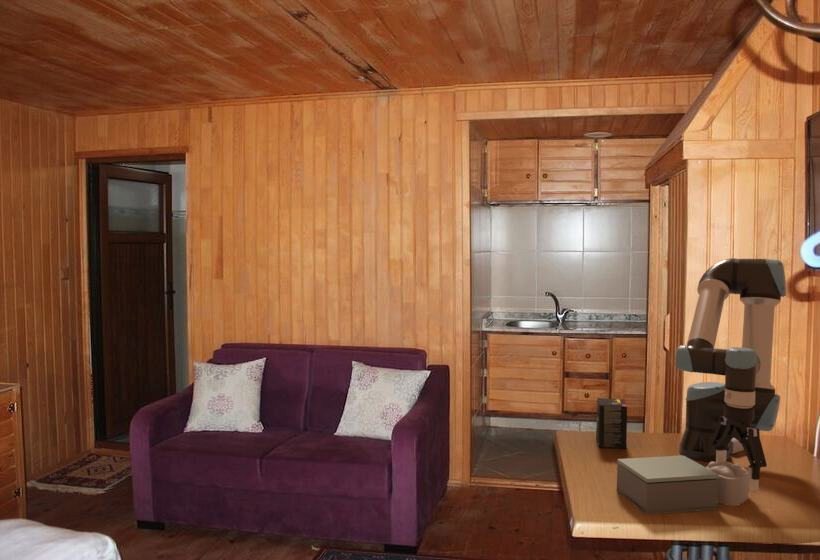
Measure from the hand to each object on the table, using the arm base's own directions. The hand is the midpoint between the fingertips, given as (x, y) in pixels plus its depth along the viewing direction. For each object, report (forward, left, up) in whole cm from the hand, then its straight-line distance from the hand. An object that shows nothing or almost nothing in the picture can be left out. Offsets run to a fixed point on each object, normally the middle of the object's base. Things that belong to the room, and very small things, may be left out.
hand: (736, 481), depth 184 cm
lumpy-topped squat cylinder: (+2, -1, -4) cm, 5 cm away
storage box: (+21, 0, -4) cm, 21 cm away
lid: (+21, 0, +4) cm, 21 cm away
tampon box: (+13, -48, -4) cm, 50 cm away
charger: (-26, -39, -4) cm, 47 cm away
